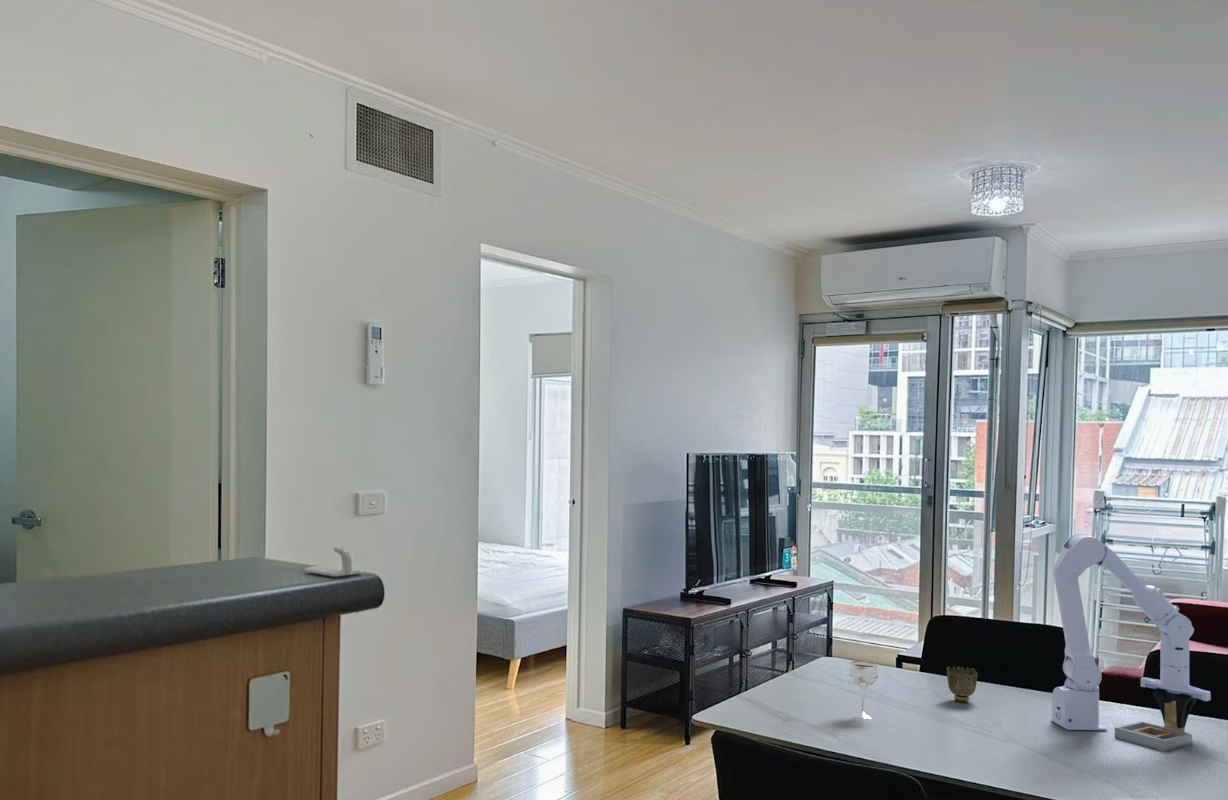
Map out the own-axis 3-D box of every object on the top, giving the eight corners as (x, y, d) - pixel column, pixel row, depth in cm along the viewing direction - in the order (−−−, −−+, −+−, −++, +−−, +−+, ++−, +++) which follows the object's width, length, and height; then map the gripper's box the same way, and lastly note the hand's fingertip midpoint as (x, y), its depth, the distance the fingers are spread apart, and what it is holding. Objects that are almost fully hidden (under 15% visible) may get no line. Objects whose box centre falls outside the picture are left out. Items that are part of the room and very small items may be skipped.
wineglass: (845, 717, 222) (846, 665, 223) (849, 710, 228) (850, 659, 229) (875, 721, 219) (876, 668, 220) (879, 714, 226) (880, 662, 226)
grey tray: (1191, 744, 209) (1191, 734, 209) (1165, 751, 203) (1165, 740, 203) (1141, 730, 219) (1141, 721, 219) (1114, 737, 213) (1114, 727, 213)
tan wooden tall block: (1184, 734, 217) (1184, 703, 217) (1175, 736, 215) (1175, 705, 215) (1173, 731, 219) (1173, 700, 219) (1164, 733, 217) (1164, 702, 217)
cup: (979, 706, 236) (980, 673, 236) (948, 703, 237) (948, 671, 238) (974, 698, 243) (974, 667, 243) (944, 696, 244) (944, 665, 245)
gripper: (1217, 670, 214) (1217, 731, 213) (1152, 657, 226) (1151, 715, 225) (1201, 673, 210) (1201, 735, 209) (1135, 659, 222) (1135, 719, 221)
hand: (1174, 725), depth 217 cm, fingers closed on tan wooden tall block, 2 cm apart
